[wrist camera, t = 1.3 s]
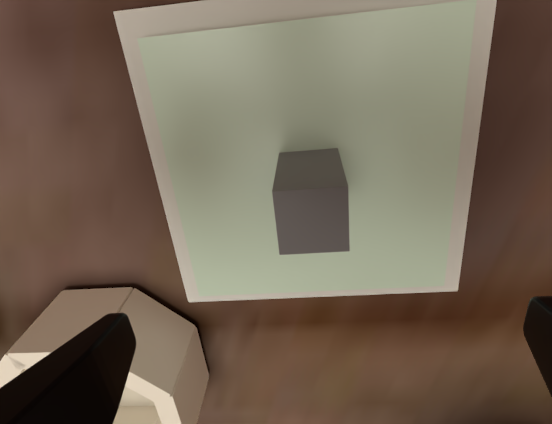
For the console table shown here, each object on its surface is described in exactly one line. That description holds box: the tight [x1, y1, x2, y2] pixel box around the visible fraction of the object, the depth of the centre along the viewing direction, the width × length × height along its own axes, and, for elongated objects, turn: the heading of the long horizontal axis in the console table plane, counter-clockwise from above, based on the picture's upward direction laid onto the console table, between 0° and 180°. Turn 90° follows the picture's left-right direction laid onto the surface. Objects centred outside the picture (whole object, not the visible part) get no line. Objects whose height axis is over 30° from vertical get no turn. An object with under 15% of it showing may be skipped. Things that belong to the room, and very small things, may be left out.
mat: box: [113, 0, 497, 302], centre depth 17 cm, size 14×14×1 cm
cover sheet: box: [137, 0, 477, 296], centre depth 15 cm, size 12×12×5 cm
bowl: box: [0, 287, 209, 424], centre depth 21 cm, size 10×10×5 cm
